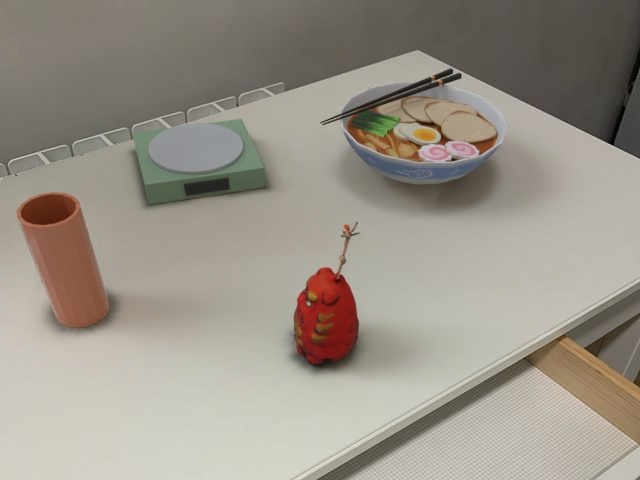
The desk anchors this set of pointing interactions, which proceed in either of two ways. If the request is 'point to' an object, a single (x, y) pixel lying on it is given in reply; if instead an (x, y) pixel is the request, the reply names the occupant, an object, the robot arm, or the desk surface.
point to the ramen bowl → (422, 129)
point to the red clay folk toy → (327, 314)
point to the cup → (64, 258)
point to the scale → (198, 161)
